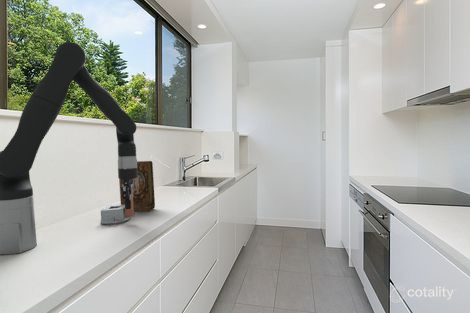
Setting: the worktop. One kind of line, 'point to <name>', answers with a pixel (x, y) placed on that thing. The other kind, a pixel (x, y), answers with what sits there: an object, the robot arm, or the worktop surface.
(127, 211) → the pin
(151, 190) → the book
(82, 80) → the robot arm
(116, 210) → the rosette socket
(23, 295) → the worktop surface
